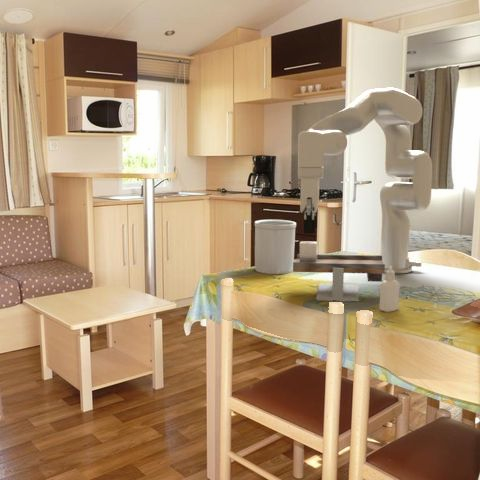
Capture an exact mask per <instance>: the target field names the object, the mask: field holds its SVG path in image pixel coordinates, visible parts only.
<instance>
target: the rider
mask: <svg viewBox="0 0 480 480" xmlns="http://www.w3.org/2000/svg"><path fill="white" fill-rule="evenodd" d="M299 254H300V262H307V263H317V254H318V241H309V240H307V241H306V240H305V241H304V240H302V241H300V242H299Z"/></svg>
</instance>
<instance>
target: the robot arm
mask: <svg viewBox="0 0 480 480" xmlns="http://www.w3.org/2000/svg"><path fill="white" fill-rule="evenodd" d="M423 112H424V111H423V107H422V104H421V102H420V101H419V100H418V99H417V98H415V96H412V95H410V94H408V93H407V92H405V91H403V90H401V89H398V88H394V87H386V88H374V89H369V90H366V91H365V92H363V93H362V94H361V95H359V96H358V97H357V98H356V99H355V100H354V101H353V102H352V103H350V104H348V106H347V107H346V108H344V109H342V110H339V111H338V112H335V113H333V114H330V115H328V116H326V117H324V118H323V119H320V120H318V121H317V122H315V123H314V124H313V125H311V127H309V128H308V129H307V130H303V131H300V132H299V133H298V136H297V179H299V180H300V201H299V202H300V204H299V208H300V209H299V211H300V213H304V217H303V218H304V219H303V234H315V233H316V229H317V227H318V225H317V224H318V223H317V222H318V218H317V217H318V216H317V211H318V208H319V200H320V180H321V179H324V165H325V163H324V158H325V156H338V155H341V154H342V153H343V152H344V151H345V150H346V148H347V147H348V138H347V136H351V135H354V134H356V133H359V132H361V131H362V130H364V129H365V128H366V127H367V126H368V125H369V124H370V123H371V122H373V121H375V122H376V123H377V125H378V126H379V127H380V128H381V130H382V132H383V134H384V137H385V162H384V165H385V166H384V167H385V168H384V169H385V173H386V175H387V176H389V177H391V178H394V179H409V180H412V182H407V181H406V182H405V181H390V182H387V183H385V184H384V185H383V186H382V187H381V189H380V191H379V201H380V205H381V235H380V236H381V237H380V240H381V241H380V255H382V261H383V264H385V274H386V271H388V270H389V267H390V266H391V267H392V270H393V271H394V272H395V274H409V273H411V272H412V271H413V268H412V267H422V261H420V260H412V259H410V258H409V240H410V239H409V238H410V219H409V216H408V214H407V212H406V211H413V212H422V211H425V210H426V209H428V207H429V206H430V203H431V199H432V186H433V185H432V183H433V181H432V180H433V162H432V158H431V156H430V154H429V153H428V152H425V151H423V150H412V135H411V134H412V133H411V132H410V130H409V128H408V126H413V125H415V124H417V123H419V122H420V120H421V119H422V116H423Z"/></svg>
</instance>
